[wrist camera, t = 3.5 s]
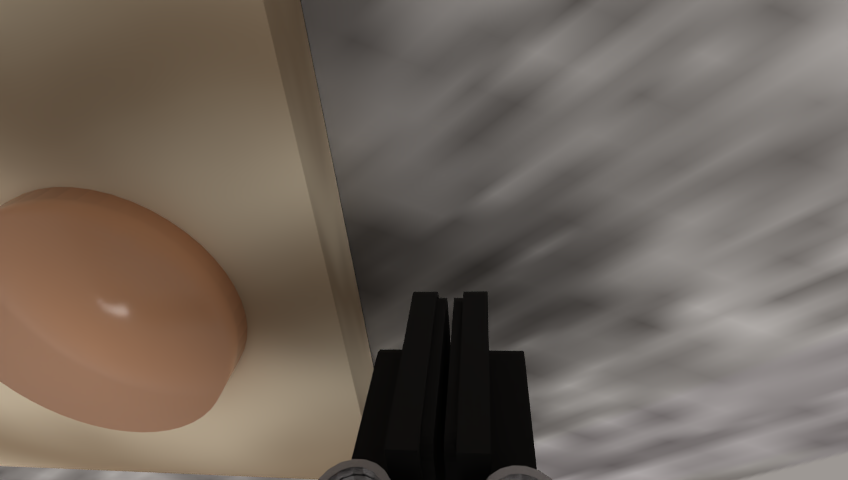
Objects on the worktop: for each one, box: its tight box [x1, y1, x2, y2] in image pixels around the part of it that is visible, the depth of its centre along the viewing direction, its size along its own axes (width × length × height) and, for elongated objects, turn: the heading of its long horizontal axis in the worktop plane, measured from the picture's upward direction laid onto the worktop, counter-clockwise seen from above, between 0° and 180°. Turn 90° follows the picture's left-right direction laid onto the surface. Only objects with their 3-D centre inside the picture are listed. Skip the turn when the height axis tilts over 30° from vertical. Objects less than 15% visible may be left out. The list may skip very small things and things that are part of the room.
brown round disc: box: [0, 187, 247, 432], centre depth 12 cm, size 7×7×2 cm
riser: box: [0, 0, 374, 479], centre depth 14 cm, size 16×18×2 cm
